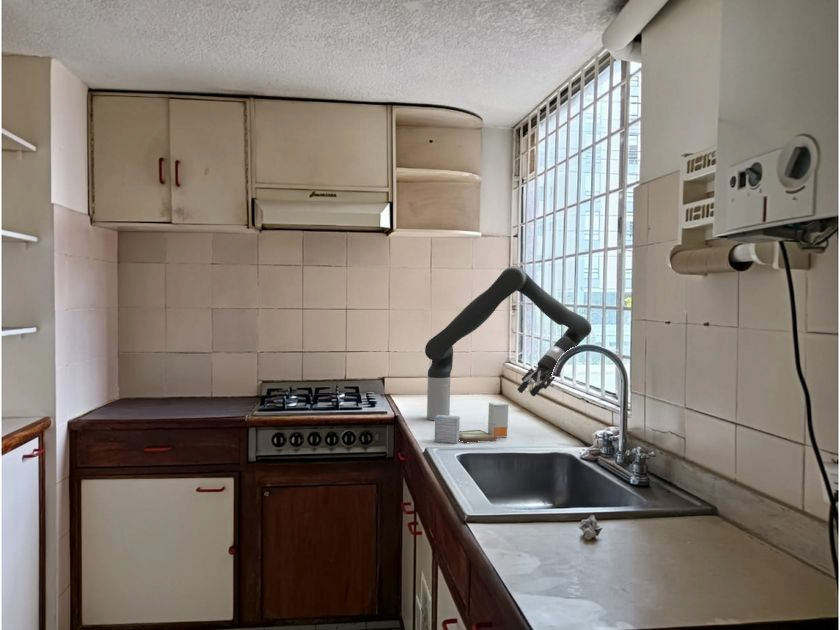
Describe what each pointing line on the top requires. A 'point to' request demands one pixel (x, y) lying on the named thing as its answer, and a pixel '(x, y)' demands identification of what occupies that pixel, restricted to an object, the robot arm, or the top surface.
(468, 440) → the plate
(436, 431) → the medicine box
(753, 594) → the top surface
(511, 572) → the top surface
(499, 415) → the skincare box
